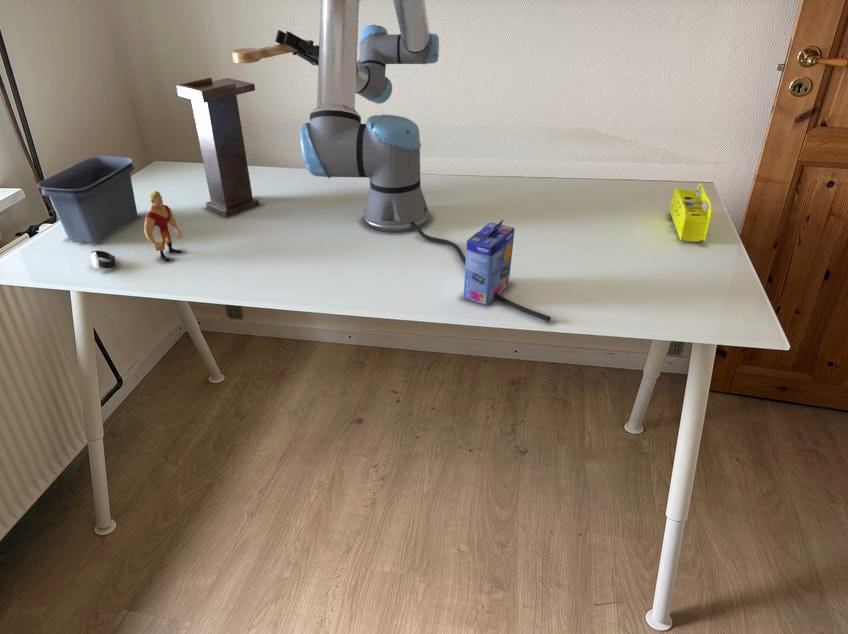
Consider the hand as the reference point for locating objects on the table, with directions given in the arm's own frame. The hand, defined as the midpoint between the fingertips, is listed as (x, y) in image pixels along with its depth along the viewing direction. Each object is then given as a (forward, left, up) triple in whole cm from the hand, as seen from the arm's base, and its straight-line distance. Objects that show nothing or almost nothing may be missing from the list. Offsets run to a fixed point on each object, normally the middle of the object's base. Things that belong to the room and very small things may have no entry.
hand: (281, 36), depth 165 cm
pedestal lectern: (-3, +20, -37) cm, 42 cm away
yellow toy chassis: (-84, -52, -37) cm, 105 cm away
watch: (-16, +57, -37) cm, 70 cm away
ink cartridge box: (-77, +1, -37) cm, 86 cm away
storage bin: (+5, +52, -37) cm, 64 cm away
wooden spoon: (-1, +3, -4) cm, 5 cm away
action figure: (-21, +44, -37) cm, 61 cm away
